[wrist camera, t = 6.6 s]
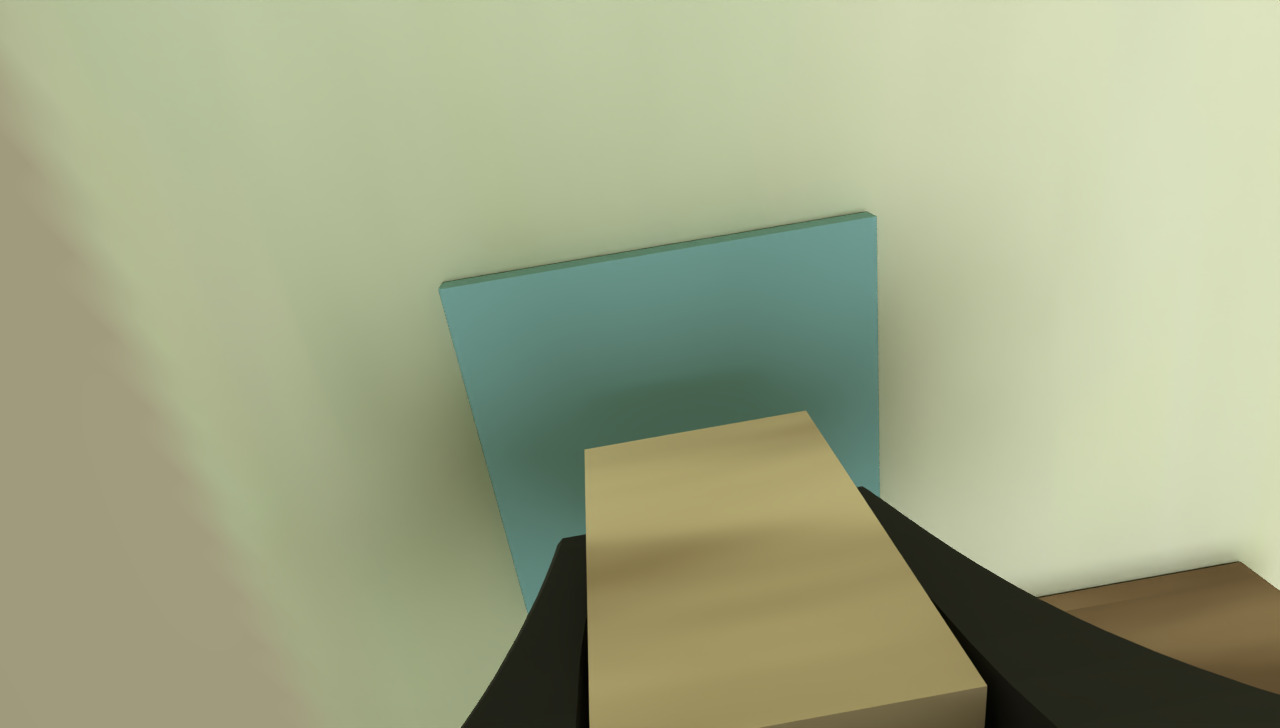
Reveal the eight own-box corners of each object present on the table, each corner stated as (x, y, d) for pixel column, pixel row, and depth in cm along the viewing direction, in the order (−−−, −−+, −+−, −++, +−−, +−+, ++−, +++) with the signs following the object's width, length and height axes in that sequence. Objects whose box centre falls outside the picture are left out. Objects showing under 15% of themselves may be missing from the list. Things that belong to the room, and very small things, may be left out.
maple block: (816, 584, 14) (970, 920, 9) (621, 619, 14) (649, 979, 8) (806, 410, 12) (987, 686, 7) (584, 449, 12) (590, 758, 7)
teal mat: (872, 553, 18) (880, 565, 18) (532, 613, 18) (531, 627, 18) (866, 211, 15) (876, 216, 14) (442, 282, 14) (438, 289, 14)
